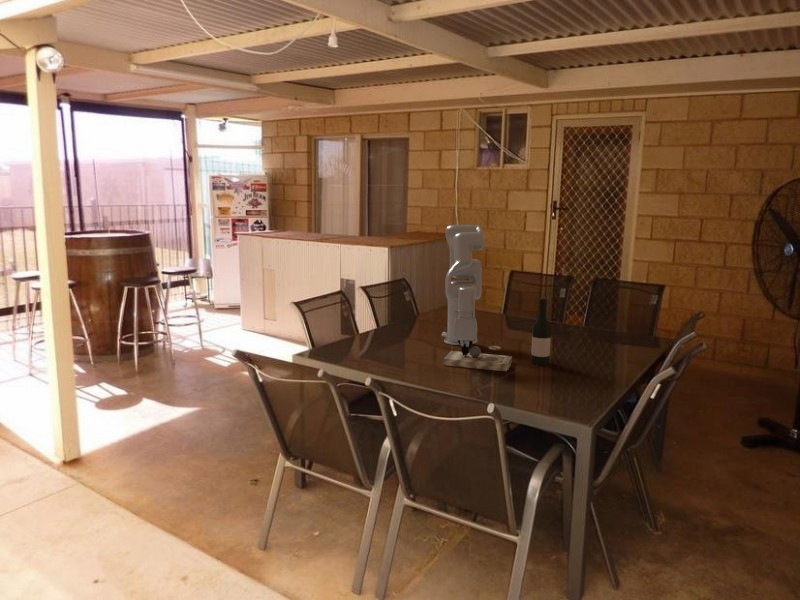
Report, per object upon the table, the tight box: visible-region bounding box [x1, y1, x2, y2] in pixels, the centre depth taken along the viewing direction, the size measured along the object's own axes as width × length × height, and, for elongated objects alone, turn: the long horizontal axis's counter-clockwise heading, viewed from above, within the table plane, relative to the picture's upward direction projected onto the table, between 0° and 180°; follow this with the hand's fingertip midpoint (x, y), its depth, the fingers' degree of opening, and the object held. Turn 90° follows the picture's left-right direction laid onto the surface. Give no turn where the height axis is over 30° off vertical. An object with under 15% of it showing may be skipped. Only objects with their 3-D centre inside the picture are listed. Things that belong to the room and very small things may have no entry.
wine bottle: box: [530, 296, 552, 367], centre depth 269 cm, size 8×8×30 cm
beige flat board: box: [443, 350, 513, 372], centre depth 270 cm, size 28×14×3 cm, turn 71°
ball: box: [469, 345, 482, 357], centre depth 270 cm, size 5×5×5 cm
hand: (465, 354), depth 272 cm, fingers closed
